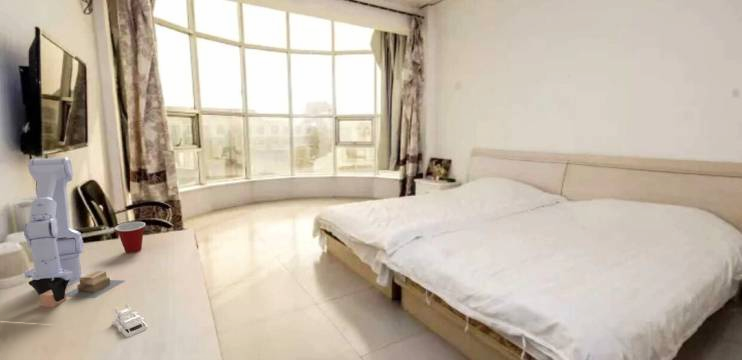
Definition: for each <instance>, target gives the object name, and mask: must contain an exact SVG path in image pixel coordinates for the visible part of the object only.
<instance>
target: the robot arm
mask: <svg viewBox="0 0 742 360" xmlns="http://www.w3.org/2000/svg"><path fill="white" fill-rule="evenodd" d="M27 166H28V172H29V174H30V176H32V179H33V180H35V181H36V199H33V200H32V201H31V204H30V210H29V218H28V222H27V223H25V224H24V226H23V234H24V235H23V236H24V239H25V240H26V242H27V246H28V248H29V247H30V250H31V256H32V261H33V267H34V269H29V270H26V271H24V272H23V273H24V277H25V279H30V278H32V280H29V281H28V285H30V286H31V287H32V288H33V289H34V290H35V291H36V292H37V294H38V296H39V297H40V294H42V293H45V292H47V291H49V290H52V292H53V296H54V299H55V301H56V302H58V301H60V300H62V299H64V296H65V294H66V291H67V287H68V286H71V285H72V284H74V283H76V282H79V277H81V276H83V275H85V274H86V273H83V271H82V265H81V258H80V254H82V253H83V251H84V248H85V247H84V240H83V237H82V233H81V232H80V231H78V230H76V229H73V228H72V227H71V221H70V213H69V212H70V211H69V210H70V209H69V202H68V192H67V191H68V190H67V186H68V185H67V184H68V183H69V182H71V181H73V166H72V163H71V160H70V158H69V157H67V156H65V157H52V158H51V157H50V158H31V159H30V160H29V161H28V165H27Z"/></svg>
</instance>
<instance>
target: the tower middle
mask: <svg viewBox="0 0 742 360" xmlns="http://www.w3.org/2000/svg"><path fill="white" fill-rule="evenodd" d="M84 274H85V275H83V276H81V277H79V280H78V282H79V284H84V285H95V284H97V283H99V282H100V281H102V280H104V279H106V278H107V276H108V275H107V271H106V270H105V271H103V270H92V271H89V272H87V273H84Z"/></svg>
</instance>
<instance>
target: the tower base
mask: <svg viewBox="0 0 742 360" xmlns="http://www.w3.org/2000/svg"><path fill="white" fill-rule="evenodd" d="M110 280H111V279H110V277H107V278H106V279H104V280H102V281H100V282H99V283H97V284H95V285H84V284H80V283H78V284H77V286H76V288H78V292H89V293H95V292H97V291H99V290H101V289H103V288H105V287H106V286H108V285H110Z"/></svg>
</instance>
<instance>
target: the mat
mask: <svg viewBox="0 0 742 360" xmlns="http://www.w3.org/2000/svg"><path fill="white" fill-rule="evenodd" d="M124 282H125V280H120V279H119V280H118V279H116V280H115V279H110V285H108V286H106V287H105V288H103V289H101V290H99V291H97V292H95V293H89V292H78V287H76V288H74V289H72V290H71V291H68V292H67V293H66V292H65V296H66V298H67V297H68V298H69V297H70V298H71V297H72V298H85V299H86V298H87V299H88V298H90V299H96V298H98V297H99V296H101V295H103V294H105V293H106V292H108V291H110V290H113V288H116V287H117V286H119V285H120V284H123V283H124Z"/></svg>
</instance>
